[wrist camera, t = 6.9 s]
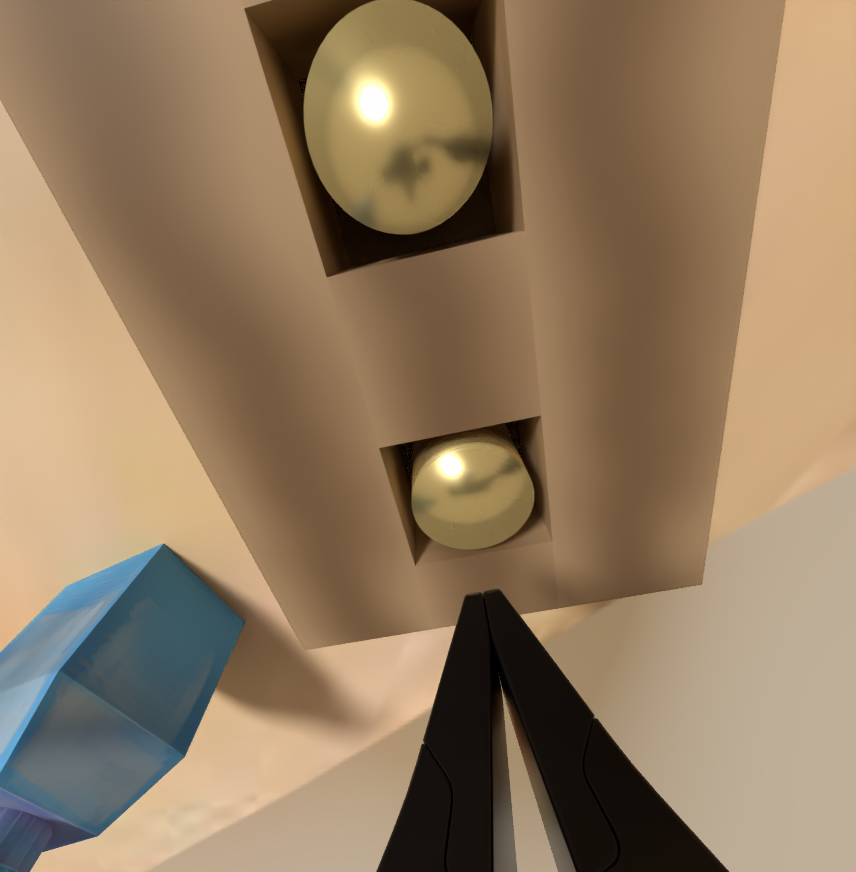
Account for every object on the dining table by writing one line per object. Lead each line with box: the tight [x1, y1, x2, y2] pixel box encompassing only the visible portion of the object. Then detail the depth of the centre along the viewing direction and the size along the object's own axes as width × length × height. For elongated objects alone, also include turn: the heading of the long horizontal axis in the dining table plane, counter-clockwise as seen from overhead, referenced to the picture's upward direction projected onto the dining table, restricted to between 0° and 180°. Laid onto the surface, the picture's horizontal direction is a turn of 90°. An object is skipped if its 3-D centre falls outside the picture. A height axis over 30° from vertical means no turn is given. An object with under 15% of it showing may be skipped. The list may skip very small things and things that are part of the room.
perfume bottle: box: [0, 544, 245, 872], centre depth 15 cm, size 6×6×12 cm
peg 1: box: [304, 0, 493, 235], centre depth 10 cm, size 4×4×4 cm
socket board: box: [0, 0, 785, 650], centre depth 13 cm, size 16×22×4 cm
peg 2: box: [412, 423, 534, 550], centre depth 15 cm, size 4×4×4 cm
